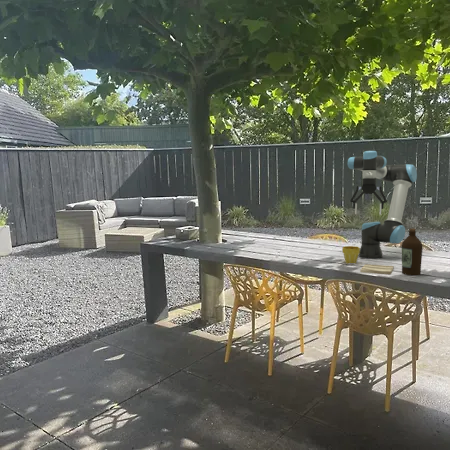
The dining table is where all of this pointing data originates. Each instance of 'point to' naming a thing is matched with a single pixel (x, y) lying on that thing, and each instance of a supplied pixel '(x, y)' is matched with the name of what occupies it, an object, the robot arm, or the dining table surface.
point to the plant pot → (351, 253)
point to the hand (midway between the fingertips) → (367, 214)
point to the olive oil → (411, 254)
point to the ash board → (377, 269)
